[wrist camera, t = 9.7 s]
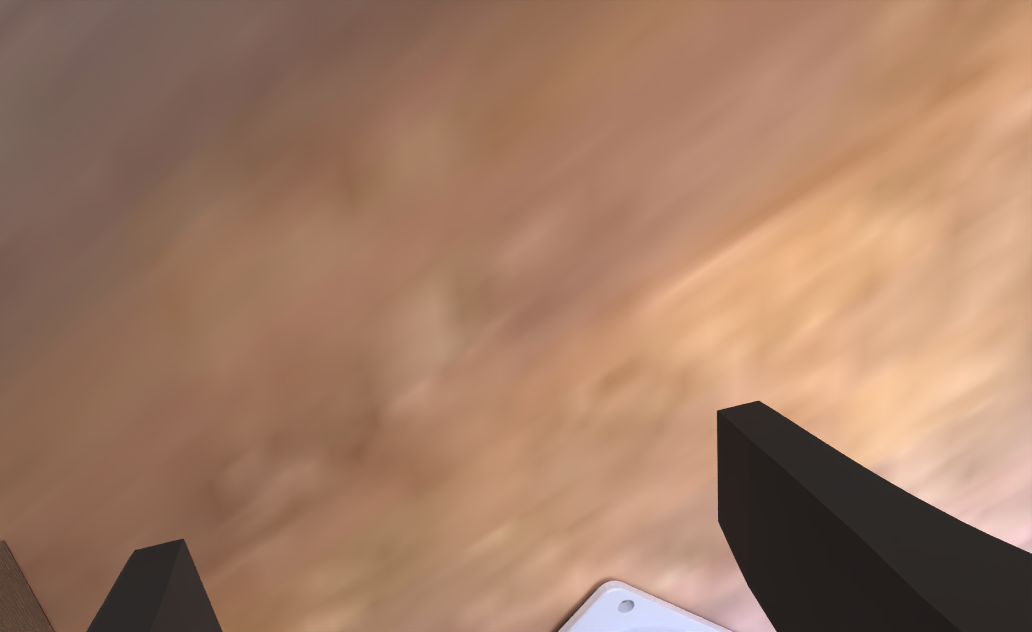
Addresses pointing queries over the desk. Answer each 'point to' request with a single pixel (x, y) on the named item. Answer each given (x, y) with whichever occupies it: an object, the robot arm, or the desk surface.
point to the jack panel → (18, 599)
